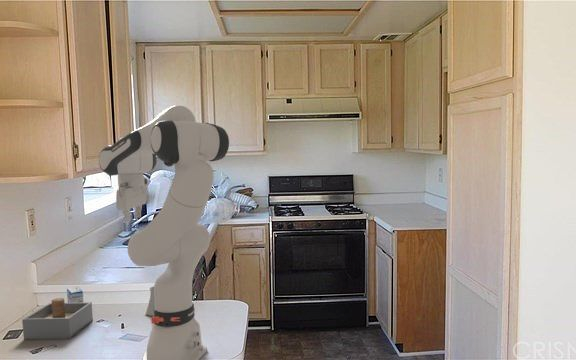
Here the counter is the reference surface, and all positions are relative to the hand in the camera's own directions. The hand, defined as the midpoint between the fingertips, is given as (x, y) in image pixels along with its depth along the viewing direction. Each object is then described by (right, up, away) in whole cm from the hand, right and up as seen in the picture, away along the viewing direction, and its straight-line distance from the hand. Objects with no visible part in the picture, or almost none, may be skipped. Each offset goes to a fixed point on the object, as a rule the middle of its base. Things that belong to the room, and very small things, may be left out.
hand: (133, 219), depth 166 cm
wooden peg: (-24, -38, -5) cm, 45 cm away
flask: (+6, -37, +8) cm, 38 cm away
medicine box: (-27, -38, +14) cm, 48 cm away
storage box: (-24, -38, -5) cm, 46 cm away
